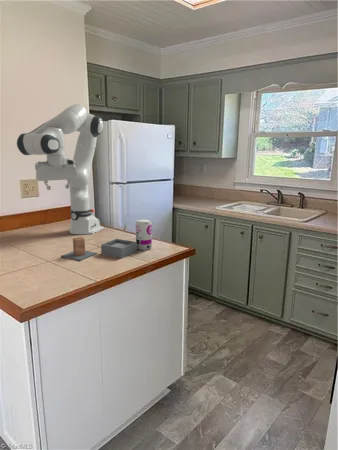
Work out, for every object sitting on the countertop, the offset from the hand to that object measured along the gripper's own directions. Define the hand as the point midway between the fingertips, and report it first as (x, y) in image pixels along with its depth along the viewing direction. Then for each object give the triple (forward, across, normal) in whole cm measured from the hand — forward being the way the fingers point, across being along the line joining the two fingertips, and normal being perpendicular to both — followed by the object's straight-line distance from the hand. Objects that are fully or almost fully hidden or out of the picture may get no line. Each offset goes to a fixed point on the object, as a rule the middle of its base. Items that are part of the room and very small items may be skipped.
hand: (58, 189), depth 168 cm
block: (+30, +3, -17) cm, 35 cm away
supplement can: (+31, +35, -25) cm, 53 cm away
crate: (+32, +21, -25) cm, 45 cm away
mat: (+31, +3, -17) cm, 36 cm away
